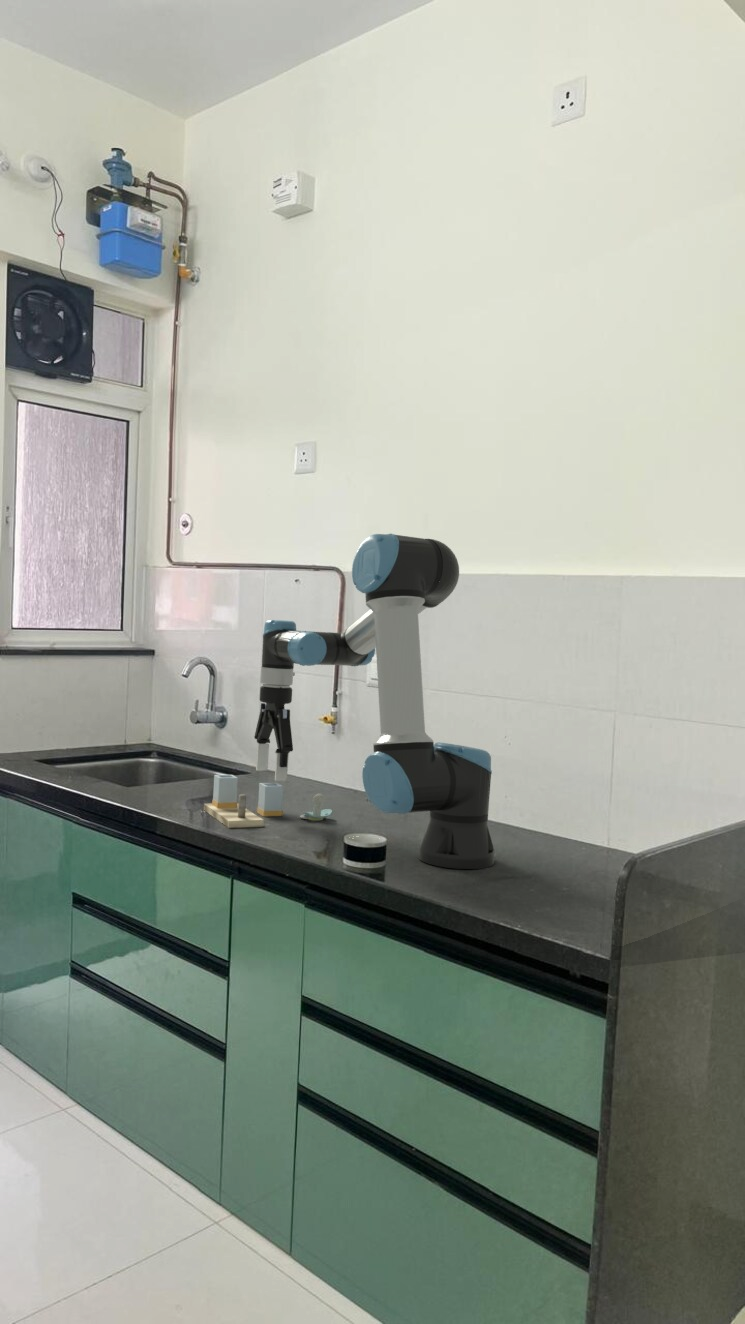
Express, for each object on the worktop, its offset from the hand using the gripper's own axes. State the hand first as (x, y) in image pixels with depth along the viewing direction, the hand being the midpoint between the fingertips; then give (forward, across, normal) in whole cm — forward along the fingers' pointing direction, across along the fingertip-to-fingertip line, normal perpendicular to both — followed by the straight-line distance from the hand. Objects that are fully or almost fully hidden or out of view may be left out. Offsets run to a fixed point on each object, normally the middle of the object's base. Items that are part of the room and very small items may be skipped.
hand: (271, 775), depth 238 cm
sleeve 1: (+8, +3, +10) cm, 13 cm away
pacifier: (+9, -7, -9) cm, 15 cm away
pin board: (+9, -4, +10) cm, 14 cm away
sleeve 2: (+9, 0, 0) cm, 9 cm away
